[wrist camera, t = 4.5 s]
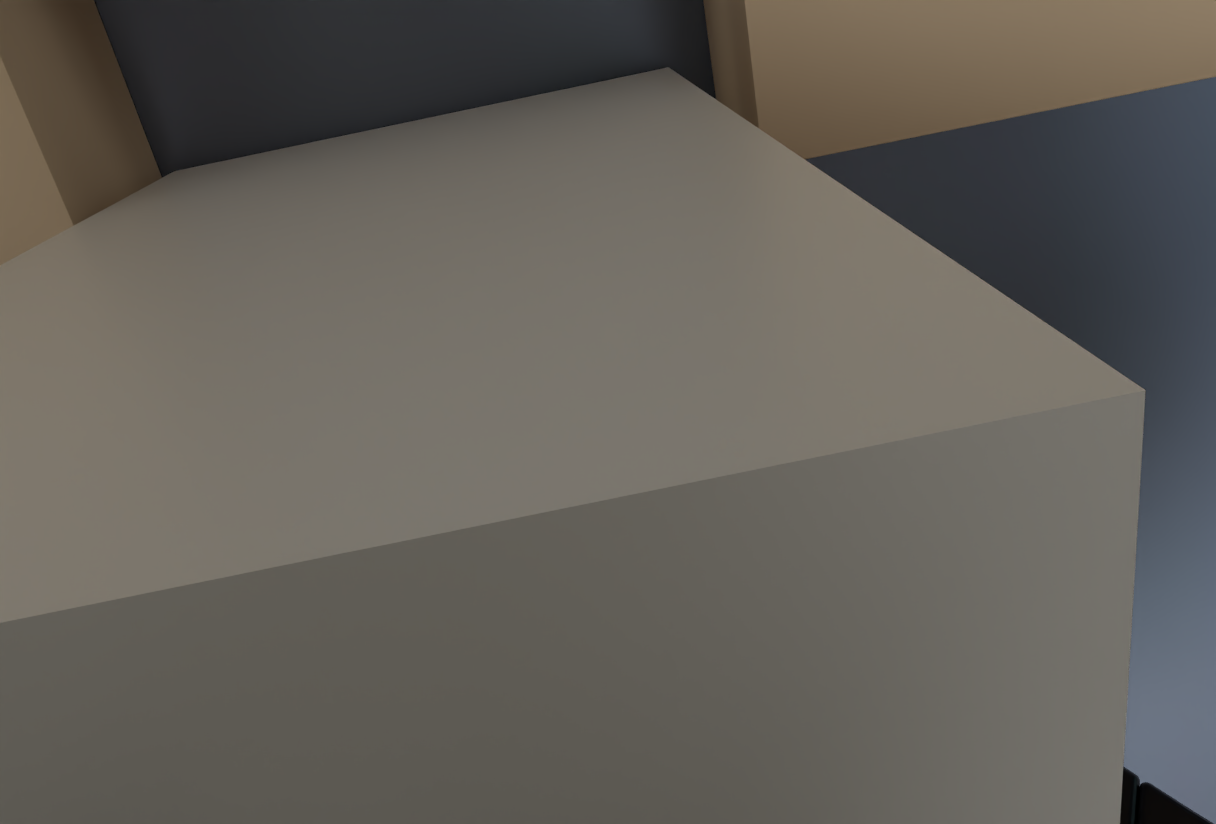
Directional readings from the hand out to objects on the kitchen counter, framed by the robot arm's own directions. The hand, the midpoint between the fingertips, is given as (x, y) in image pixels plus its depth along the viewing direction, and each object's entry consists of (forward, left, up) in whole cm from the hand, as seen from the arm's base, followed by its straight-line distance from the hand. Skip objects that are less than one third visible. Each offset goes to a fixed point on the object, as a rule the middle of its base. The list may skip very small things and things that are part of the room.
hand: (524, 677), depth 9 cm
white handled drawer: (0, 0, -3) cm, 3 cm away
